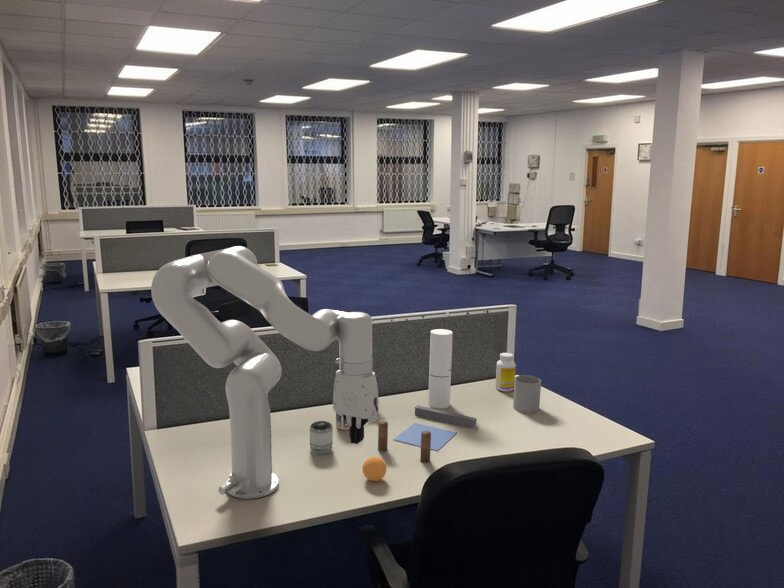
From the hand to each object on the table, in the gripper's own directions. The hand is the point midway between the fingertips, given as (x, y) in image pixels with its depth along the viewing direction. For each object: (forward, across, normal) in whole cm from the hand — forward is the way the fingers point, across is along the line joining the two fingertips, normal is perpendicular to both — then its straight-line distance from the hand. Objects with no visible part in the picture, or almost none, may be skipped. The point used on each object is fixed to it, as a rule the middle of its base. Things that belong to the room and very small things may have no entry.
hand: (357, 441), depth 148 cm
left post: (+14, -7, +25) cm, 30 cm away
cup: (+15, +18, +76) cm, 80 cm away
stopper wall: (+14, -1, +53) cm, 55 cm away
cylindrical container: (+15, -8, +64) cm, 66 cm away
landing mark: (+14, -1, +39) cm, 42 cm away
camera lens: (+14, -22, +16) cm, 31 cm away
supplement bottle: (+15, +6, +90) cm, 92 cm away
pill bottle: (+14, -25, +33) cm, 44 cm away
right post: (+14, +6, +25) cm, 30 cm away
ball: (+11, -1, +9) cm, 15 cm away
